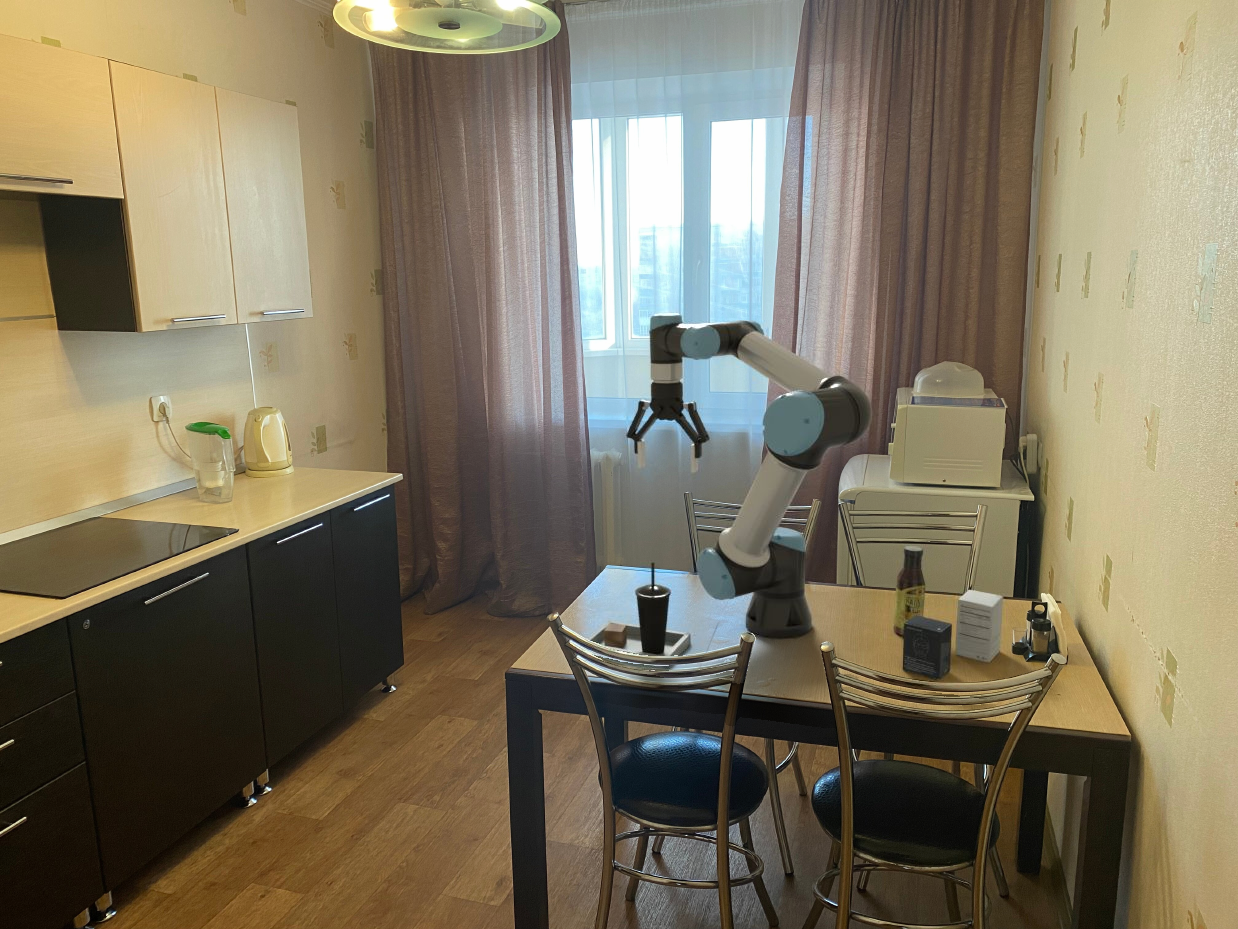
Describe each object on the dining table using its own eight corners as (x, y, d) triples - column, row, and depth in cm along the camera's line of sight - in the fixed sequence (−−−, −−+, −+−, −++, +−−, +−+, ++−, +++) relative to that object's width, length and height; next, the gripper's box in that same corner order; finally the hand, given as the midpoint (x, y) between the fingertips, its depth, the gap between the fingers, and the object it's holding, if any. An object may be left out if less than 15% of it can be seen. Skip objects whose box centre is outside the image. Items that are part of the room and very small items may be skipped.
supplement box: (965, 643, 197) (969, 588, 194) (1000, 651, 193) (1004, 595, 190) (953, 654, 192) (957, 598, 189) (989, 663, 187) (993, 606, 184)
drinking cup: (668, 659, 191) (668, 569, 187) (633, 657, 193) (632, 567, 188) (672, 644, 199) (672, 558, 194) (638, 642, 200) (637, 556, 196)
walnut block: (626, 641, 201) (626, 624, 200) (622, 649, 197) (621, 631, 196) (609, 640, 202) (609, 623, 201) (604, 647, 198) (604, 630, 197)
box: (950, 671, 184) (953, 623, 181) (938, 681, 180) (941, 631, 177) (913, 661, 189) (916, 613, 187) (901, 670, 185) (903, 622, 183)
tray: (690, 645, 199) (690, 633, 199) (666, 671, 187) (666, 658, 186) (609, 632, 208) (608, 620, 207) (581, 656, 195) (580, 643, 195)
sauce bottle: (905, 639, 200) (909, 554, 195) (887, 629, 205) (890, 546, 201) (929, 634, 202) (933, 550, 198) (910, 625, 208) (914, 542, 203)
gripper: (722, 380, 209) (722, 469, 213) (624, 377, 219) (626, 462, 223) (712, 384, 202) (712, 476, 206) (611, 381, 212) (613, 468, 217)
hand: (667, 469), depth 215 cm, fingers open, 13 cm apart
